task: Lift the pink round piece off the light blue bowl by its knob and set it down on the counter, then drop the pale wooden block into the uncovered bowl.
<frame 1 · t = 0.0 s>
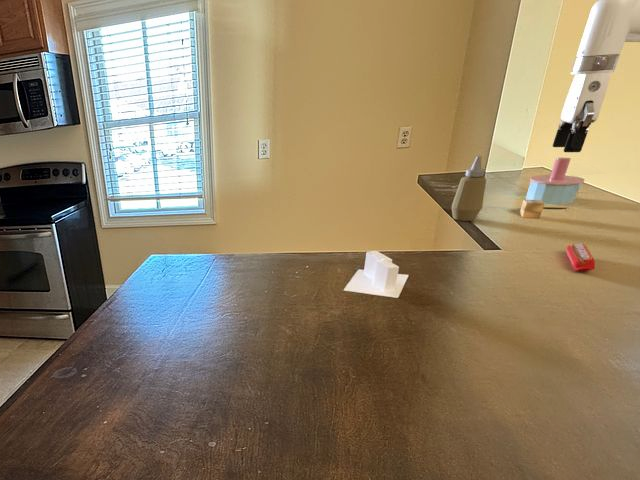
hand: (565, 149, 114), 22 cm above the countertop, tool pointing down, fingers open, 9 cm apart
block: (529, 216, 145), on the countertop
pink round piece: (556, 180, 151), point 7 cm above the countertop, touching bowl
napkin holder: (376, 283, 108), on the countertop
squeeze bottle: (463, 219, 147), on the countertop
bowl: (547, 204, 155), on the countertop
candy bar: (577, 264, 110), on the countertop
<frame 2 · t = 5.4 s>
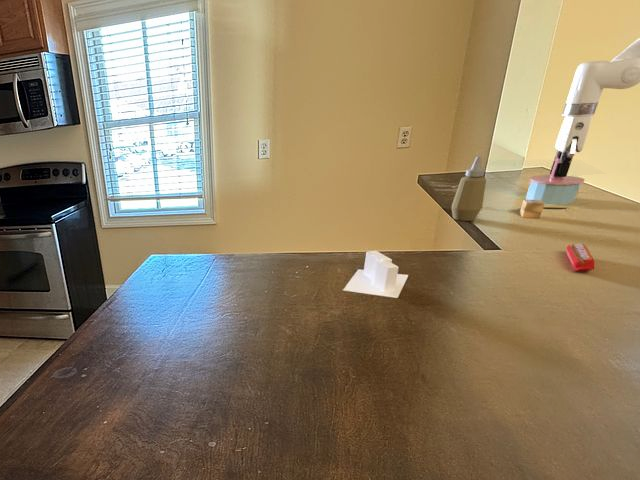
hand: (557, 174, 150), 9 cm above the countertop, tool pointing down, fingers closed on pink round piece, 3 cm apart
pink round piece: (556, 180, 151), point 8 cm above the countertop, touching bowl, gripper
everything else where it was.
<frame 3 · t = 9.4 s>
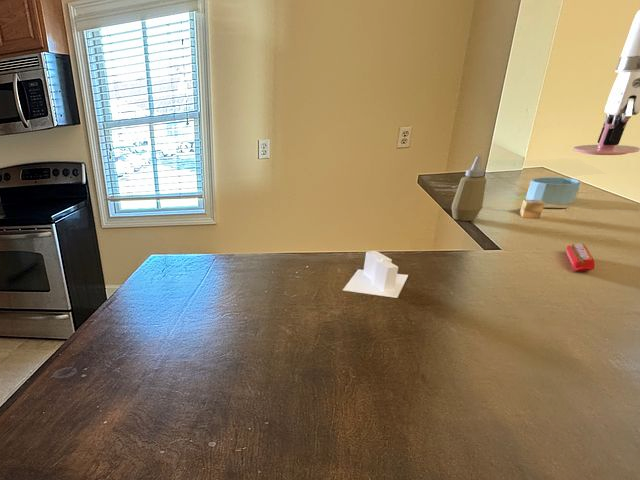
hand: (607, 143, 129), 20 cm above the countertop, tool pointing down, fingers closed on pink round piece, 3 cm apart
pink round piece: (604, 150, 130), point 19 cm above the countertop, touching gripper
everything else where it was.
when the fingers open (2 cm above the countertop, at t = 13.4 s): pink round piece stays where it is, point 1 cm above the countertop.
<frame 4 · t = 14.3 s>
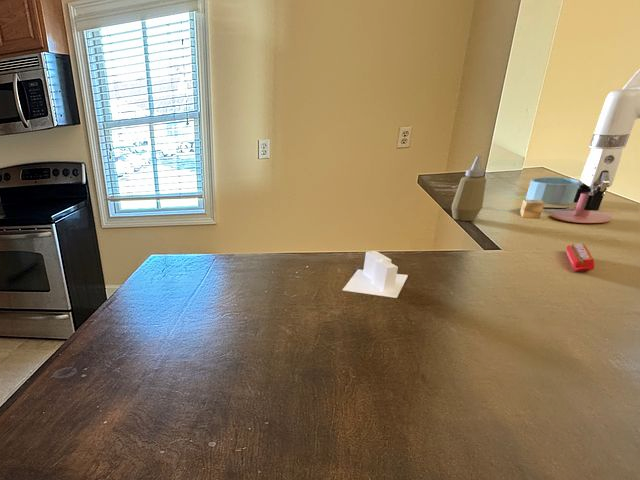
hand: (585, 206, 138), 4 cm above the countertop, tool pointing down, fingers open, 9 cm apart
pink round piece: (580, 216, 139), point 1 cm above the countertop
everything else where it was.
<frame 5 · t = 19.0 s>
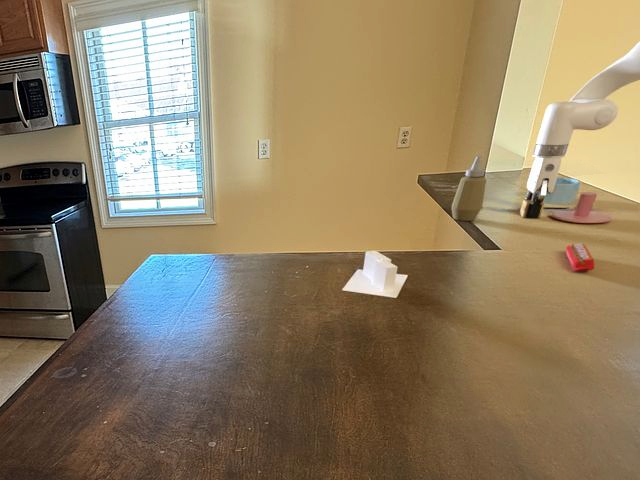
hand: (529, 214, 145), 0 cm above the countertop, tool pointing down, fingers closed on block, 4 cm apart
block: (529, 216, 145), on the countertop, touching gripper
everything else where it was.
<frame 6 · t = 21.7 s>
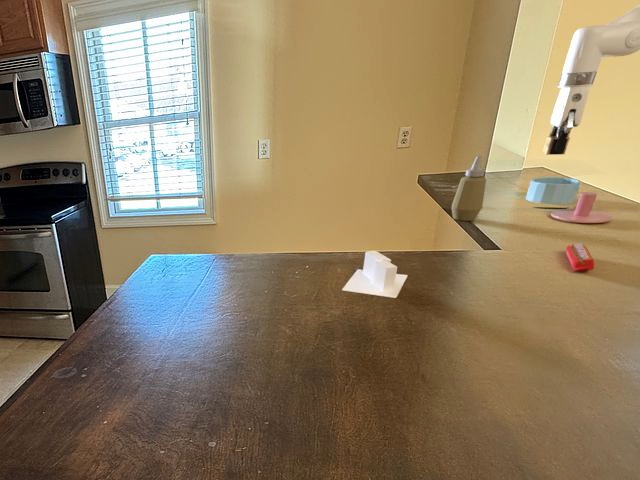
hand: (553, 152, 139), 18 cm above the countertop, tool pointing down, fingers closed on block, 4 cm apart
block: (553, 153, 139), point 17 cm above the countertop, touching gripper
everything else where it was.
when the fingers open (9 cm above the countertop, at t = 24.5 s): block drops 8 cm, resting on bowl.
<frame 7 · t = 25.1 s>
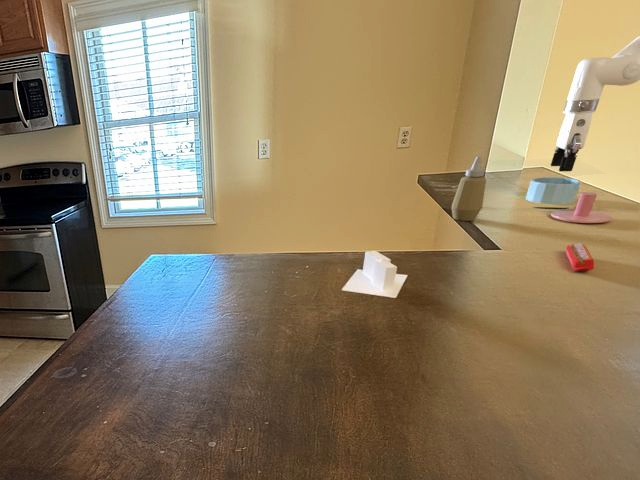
hand: (560, 168, 149), 11 cm above the countertop, tool pointing down, fingers open, 9 cm apart
block: (548, 203, 155), resting on bowl
everything else where it was.
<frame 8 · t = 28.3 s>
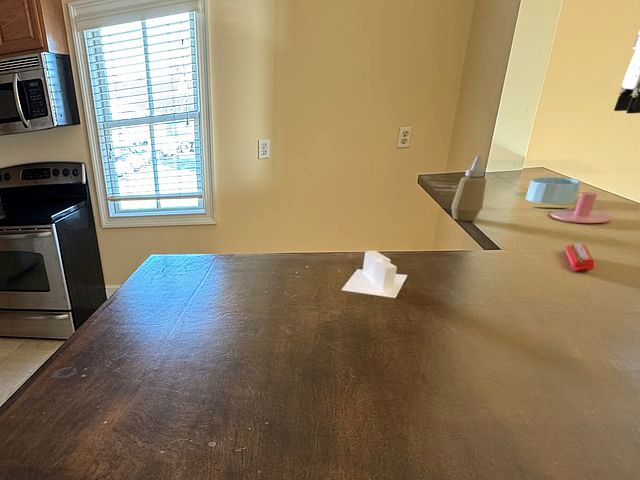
hand: (626, 111, 139), 26 cm above the countertop, tool pointing down, fingers open, 9 cm apart
nothing on the countertop moved.
at the end: pink round piece inside the target area (0.1 cm from its centre), point 0.6 cm above the countertop; pink round piece tilted 0°; block inside the target area in the bowl (0.0 cm from its centre), point 0.5 cm above the bowl's base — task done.
